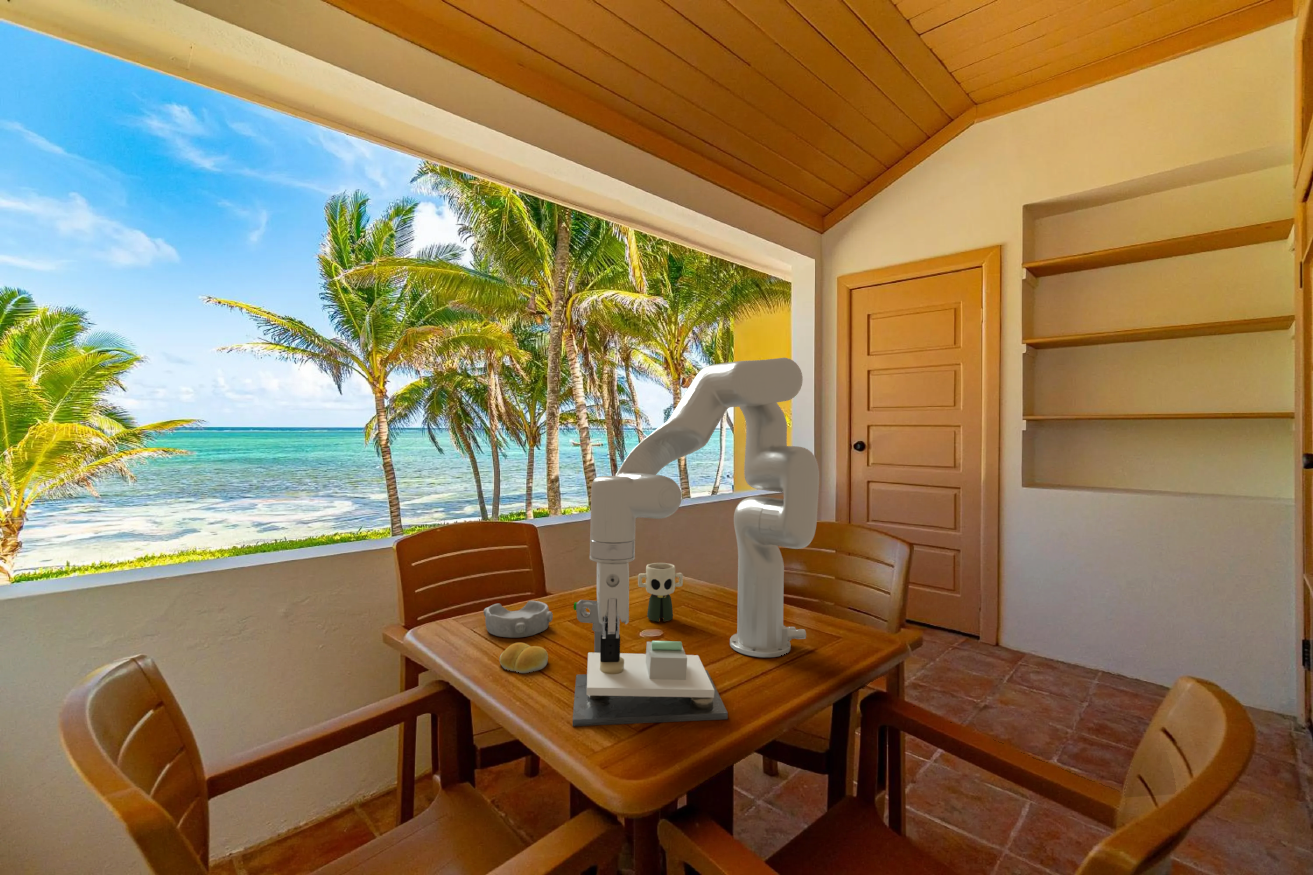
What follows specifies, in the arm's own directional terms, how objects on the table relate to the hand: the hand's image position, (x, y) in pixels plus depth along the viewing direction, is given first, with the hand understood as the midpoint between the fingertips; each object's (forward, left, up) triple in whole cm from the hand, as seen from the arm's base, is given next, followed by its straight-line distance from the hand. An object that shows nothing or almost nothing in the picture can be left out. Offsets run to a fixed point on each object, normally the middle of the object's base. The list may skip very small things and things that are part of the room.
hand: (609, 659), depth 92 cm
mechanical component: (+2, -21, -7) cm, 22 cm away
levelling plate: (-6, 0, -3) cm, 7 cm away
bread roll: (+16, -16, -7) cm, 24 cm away
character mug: (-13, -40, -7) cm, 43 cm away
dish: (+20, -36, -7) cm, 42 cm away
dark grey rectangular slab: (-6, 0, -7) cm, 9 cm away
